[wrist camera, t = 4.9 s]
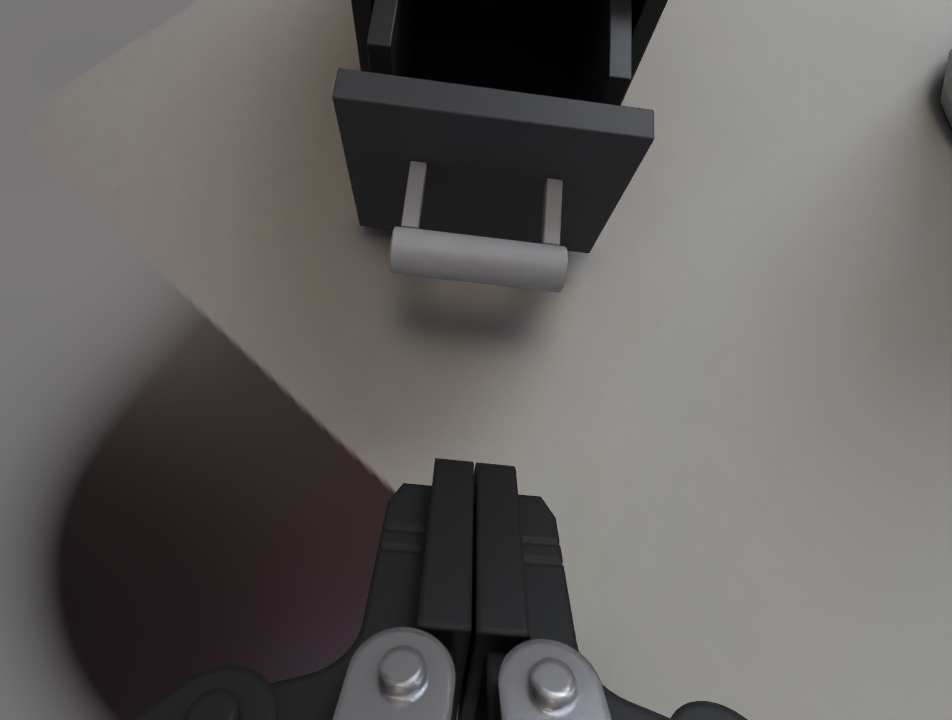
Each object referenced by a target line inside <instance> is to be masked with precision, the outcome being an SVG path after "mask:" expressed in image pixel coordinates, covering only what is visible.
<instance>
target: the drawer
mask: <svg viewBox="0 0 952 720" xmlns="http://www.w3.org/2000/svg"><path fill="white" fill-rule="evenodd" d="M367 50H368V59H369V67H370V72H365V71H357V70H350V69H342V68H339V69H338V72H337V77H336V82H335V87H334V92H333V102H334V106H335V111H336V116H337V120H338V125H339V130H340V134H341V139H342V144H343V148H344V153H345V158H346V162H347V167H348V172H349V176H350V181H351V186H352V190H353V195H354V200H355V204H356V209H357V214H358V218H359V223H360V226H365V227H373V228H382V229H390V230H393V233H392V238H391V245H390V260H389V265H390V271H391V273H396V274H405V275H414V276H422V277H431V278H440V279H448V280H457V281H466V282H474V283H483V284H492V285H500V286H509V287H518V288H526V289H535V290H544V291H552V292H560V291H561V290H562V288H563V285H564V282H565V278H566V273H567V265H568V252H567V251H575V252H583V253H589V252H590V251H591V249H592V247H593V245H594V244H595V242H596V240H597V238H598V237H599V235H600V233H601V231H602V230H603V228H604V226H605V224H606V223H607V221H608V219H609V217H610V216H611V214H612V212H613V210H614V209H615V207H616V205H617V203H618V202H619V200H620V198H621V196H622V195H623V193H624V191H625V189H626V188H627V186H628V184H629V182H630V181H631V179H632V177H633V175H634V174H635V172H636V170H637V168H638V167H639V165H640V163H641V161H642V159H643V158H644V156H645V154H646V152H647V151H648V149H649V147H650V145H651V144H652V142H653V140H654V111H653V110H649V109H641V108H634V107H626V106H620V104H621V102H622V100H623V97H624V95H625V93H626V91H627V88H628V86H629V84H630V82H631V65H632V0H375V1H374V7H373V12H372V18H371V23H370V28H369V34H368V39H367Z"/></svg>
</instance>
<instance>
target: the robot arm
mask: <svg viewBox="0 0 952 720" xmlns="http://www.w3.org/2000/svg"><path fill="white" fill-rule="evenodd" d="M562 562H563V560H562V554H561V548H560V546H559V536H558V530H557V524H556V518H555V517H554V515H553V514H552V512H551V511H550V509H549V508H548V506H547V505H546V503H545V502H544V501H543V499H542V498H541V497H538V496H527V495H518V489H517V478H516V469H515V467H514V466H506V465H496V464H486V463H476V465H475V470H474V463H473V462H468V461H458V460H448V459H438V458H435V465H434V474H433V483H432V486H427V485H417V484H407V483H403V485H402V486H401V487H400V488H399V489H398V490H397V492H396V493H395V494H394V495H393V496H392V498H391V499H390V500H389V501H388V505H387V509H386V514H385V518H384V523H383V529H382V533H381V538H380V542H379V549H378V552H377V556H376V562H375V566H374V571H373V576H372V580H371V585H370V590H369V595H368V599H367V604H366V609H365V614H364V618H363V623H362V626H361V630H360V632H359V634H358V637H357V639H356V640H355V642H354V643H353V645H352V646H351V648H350V649H349V650H348V651H347V652H346V653H345V654H344V655H343V656H342V657H340V658H339V659H338V660H337V661H336V662H334V663H332V664H331V665H329V666H328V667H326V668H324V669H321V670H319V671H317V672H314V673H311V674H308V675H304V676H300V677H296V678H292V679H287V680H283V681H279V682H275V683H271V684H270V683H269V682H268V680H267V679H266V678H265V677H263V676H262V675H261V674H260V673H258V672H256V671H254V670H252V669H249V668H246V667H242V666H221V667H216V668H212V669H209V670H205V671H203V672H201V673H199V674H196V675H194V676H192V677H191V678H189V679H187V680H186V681H184V682H183V683H181V684H180V685H178V686H177V687H176V688H174V689H173V690H171V691H170V692H169V693H167V694H166V695H164V696H163V697H162V698H160V699H159V700H157V701H156V702H155V703H153V704H152V705H151V706H149V707H148V708H146V709H145V710H143V711H142V712H141V713H139V714H138V715H136V716H135V717H134V718H132V719H131V720H456V716H457V710H458V704H459V710H458V720H747V719H746V718H744V717H743V716H741V715H740V714H738V713H737V712H735V711H733V710H731V709H729V708H727V707H725V706H723V705H720V704H717V703H713V702H708V701H696V702H690V703H687V704H685V705H683V706H681V707H680V708H679V709H677V710H676V711H675V713H674V714H673V715H672V717H671V719H670V718H668V717H665V716H663V715H661V714H658V713H656V712H653V711H651V710H649V709H646V708H644V707H641V706H639V705H636V704H634V703H632V702H629V701H627V700H625V699H623V698H621V697H619V696H617V695H616V694H614V693H613V692H611V691H609V690H608V689H607V688H606V687H605V686H603V685H602V684H601V681H600V678H599V676H598V674H597V673H596V671H595V669H594V668H593V666H592V665H591V664H590V662H589V661H588V660H587V659H586V658H585V657H584V656H583V655H582V654H580V653H579V650H578V646H577V642H576V636H575V631H574V625H573V619H572V613H571V607H570V601H569V595H568V589H567V583H566V577H565V571H564V566H563V565H562Z"/></svg>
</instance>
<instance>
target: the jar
mask: <svg viewBox="0 0 952 720" xmlns="http://www.w3.org/2000/svg"><path fill="white" fill-rule="evenodd" d="M940 102H941V104H942V107H943V109H944V111H945V114H946V116H947V118H948V121H949V123H950V126H951V128H952V49H951V50H950V53H949V58H948V63H947V68H946V73H945V78H944V83H943V89H942V95H941V101H940Z"/></svg>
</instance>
